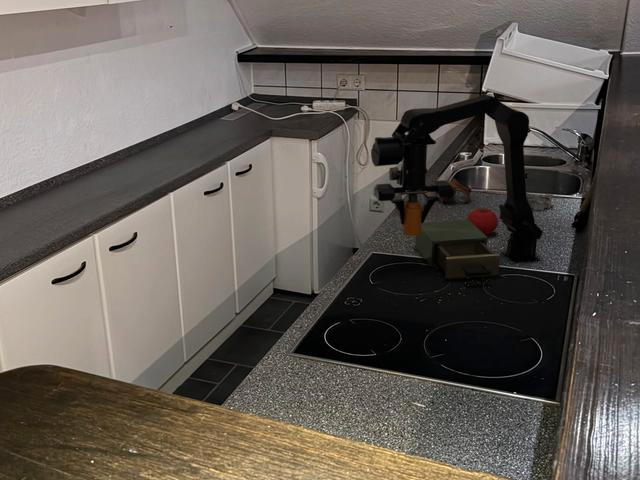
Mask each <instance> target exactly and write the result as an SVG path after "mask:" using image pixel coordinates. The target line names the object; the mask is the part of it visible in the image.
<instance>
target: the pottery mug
mask: <svg viewBox="0 0 640 480" xmlns="http://www.w3.org/2000/svg"><path fill="white" fill-rule="evenodd" d="M447 182H448V183H449V184H450V185H452V186H453V196H452V197H441V196H440V195H439V194H438V198H439V201H438V202H440V203H442V204H444V202H446V203H451V202H452V201H453V199H454V197H455V196H456V195H457V192H461V193H462V194H464V195H466V199H465V203H469V201H470V199H471V192H472V191H473V190H472V188H471V187H470V186H468V185H467V184H466V183H464V182H463V181H461V180H459V179H457V178H452V180H451V181H447Z"/></svg>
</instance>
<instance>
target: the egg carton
mask: <svg viewBox="0 0 640 480" xmlns="http://www.w3.org/2000/svg"><path fill="white" fill-rule="evenodd" d="M526 197H527V200H528V202H529V204H530V206H531V208H532V209H533V210H534V211H544V210H545V209H550V208H551V206H552V200H551V199H553V198H554V194H551V193H545V194H541V193H540V194H537V193H529V192H527V191H526Z"/></svg>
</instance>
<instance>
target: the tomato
mask: <svg viewBox="0 0 640 480" xmlns="http://www.w3.org/2000/svg"><path fill="white" fill-rule="evenodd" d="M466 220H469V221H470V222H471V223H472V224H473V225H474V226H476V227H477V228H478V229H479V230H480V231H481V232H482V233H483V234H484V235H485V236H489V235H491V234H492V233H494V232H495V231H496V230H497V227H498V225H499V219H498V217H497V214H496V213H495V212H494V211H493V210H492V209H489V208H488V207H482V208H476V209H473V210H471V211H470V212H469V213H468V215H467V217H466Z"/></svg>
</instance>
